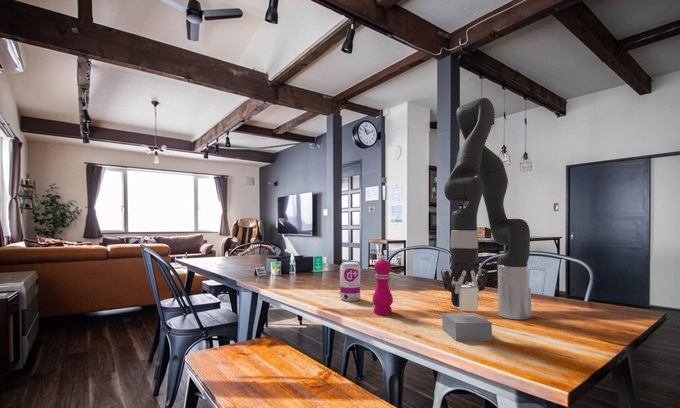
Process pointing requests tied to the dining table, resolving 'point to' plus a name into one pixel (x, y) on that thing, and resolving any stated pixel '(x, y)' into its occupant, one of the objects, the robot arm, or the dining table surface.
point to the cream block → (467, 298)
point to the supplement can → (350, 281)
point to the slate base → (467, 327)
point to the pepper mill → (382, 288)
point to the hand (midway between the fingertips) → (464, 305)
